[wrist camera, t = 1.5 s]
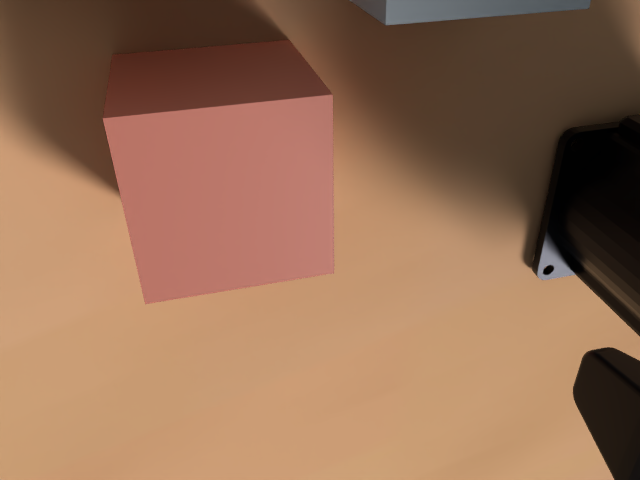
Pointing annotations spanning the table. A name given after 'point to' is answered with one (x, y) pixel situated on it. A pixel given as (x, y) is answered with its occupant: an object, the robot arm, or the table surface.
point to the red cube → (222, 166)
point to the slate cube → (459, 9)
